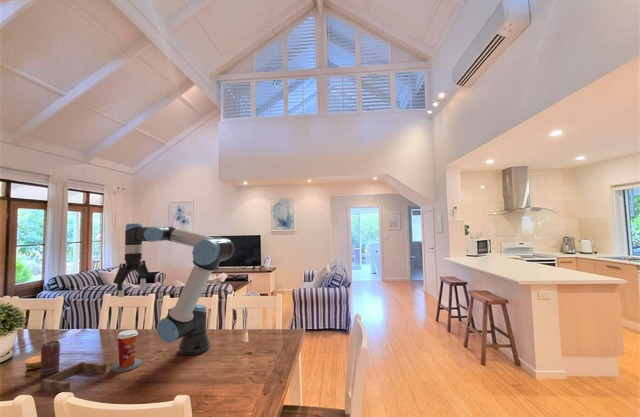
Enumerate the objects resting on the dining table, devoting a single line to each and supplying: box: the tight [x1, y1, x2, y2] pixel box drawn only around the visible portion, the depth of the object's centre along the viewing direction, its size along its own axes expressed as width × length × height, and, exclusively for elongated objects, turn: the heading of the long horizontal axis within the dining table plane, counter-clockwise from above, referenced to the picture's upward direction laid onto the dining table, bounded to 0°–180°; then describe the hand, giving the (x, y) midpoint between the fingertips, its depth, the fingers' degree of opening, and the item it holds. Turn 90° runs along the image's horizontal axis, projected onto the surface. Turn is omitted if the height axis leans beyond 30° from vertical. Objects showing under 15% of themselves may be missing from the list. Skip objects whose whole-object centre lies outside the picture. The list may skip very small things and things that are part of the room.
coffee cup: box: [116, 329, 139, 368], centre depth 135 cm, size 8×8×15 cm
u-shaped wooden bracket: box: [40, 361, 107, 393], centre depth 122 cm, size 14×16×4 cm
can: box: [39, 340, 61, 380], centre depth 127 cm, size 6×6×14 cm
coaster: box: [111, 358, 143, 373], centre depth 134 cm, size 12×12×1 cm
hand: (132, 293), depth 148 cm, fingers open, 13 cm apart
